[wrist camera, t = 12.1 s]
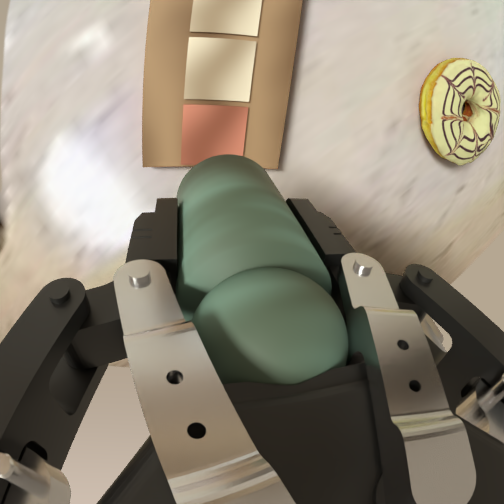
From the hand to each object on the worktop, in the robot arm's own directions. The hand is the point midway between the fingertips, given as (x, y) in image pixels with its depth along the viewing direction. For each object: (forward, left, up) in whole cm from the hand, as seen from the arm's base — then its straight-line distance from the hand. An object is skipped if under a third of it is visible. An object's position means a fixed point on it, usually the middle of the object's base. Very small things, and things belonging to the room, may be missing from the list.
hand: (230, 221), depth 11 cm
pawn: (0, 0, -2) cm, 2 cm away
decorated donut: (-22, -6, -13) cm, 27 cm away
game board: (0, -10, -13) cm, 16 cm away
